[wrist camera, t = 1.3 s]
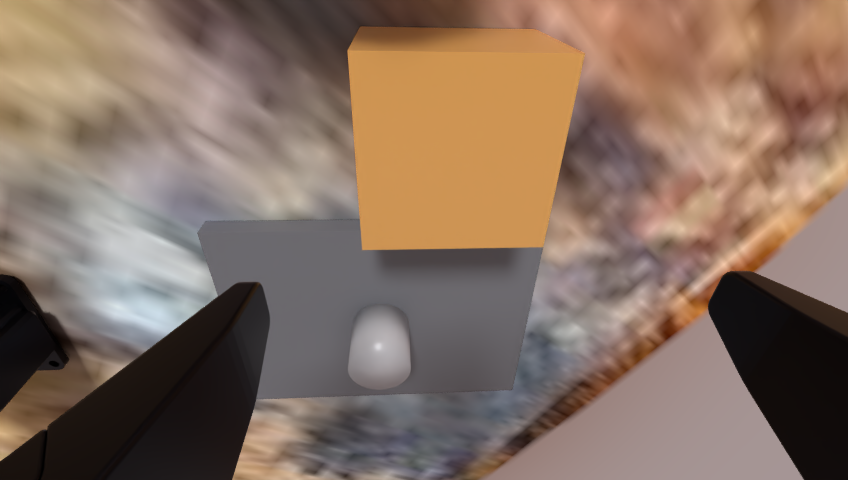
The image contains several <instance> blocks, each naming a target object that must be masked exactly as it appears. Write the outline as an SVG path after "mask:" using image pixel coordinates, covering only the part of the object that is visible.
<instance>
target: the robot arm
mask: <svg viewBox="0 0 848 480" xmlns="http://www.w3.org/2000/svg"><path fill="white" fill-rule="evenodd" d="M708 311H709V314H710V317H711V319H712V320H713V322H714V325H715V327H716V328H717V331H718V333H719V335H720V337H721V339H722V341H723V342H724V345H725V347H726V349H727V351H728V353H729V355H730V357H731V359H732V361H733V363H734V365H735V367H736V369H737V371H738V373H739V375H740V376H741V378H742V380H743V382H744V384H745V385H746V387H747V389H748V391H749V392H750V394H751V395H752V397H753V399H754V400H755V402H756V404H757V405H758V407H759V408H760V410H761V412H762V413H763V415H764V417H765V418H766V420H767V421H768V423H769V424H770V426H771V428H772V429H773V431H774V432H775V434H776V436H777V437H778V439H779V441H780V442H781V444H782V445H783V447H784V449H785V450H786V452H787V453H788V455H789V456H790V458H791V460H792V461H793V463H794V465H795V466H796V468H797V469H798V471H799V472H800V474H801V476H802V477H803V479H804V480H848V313H846V312H845V311H842V310H840V309H838V308H835V307H833V306H831V305H828V304H826V303H824V302H821V301H819V300H817V299H814V298H812V297H810V296H807V295H805V294H803V293H800V292H798V291H796V290H793V289H791V288H789V287H786V286H784V285H782V284H780V283H777V282H775V281H772V280H770V279H768V278H766V277H763V276H761V275H759V274H756V273H754V272H751V271H730V272H727V273H726V274H724V275H723V276H722V278H721V280H720V282H719V284H718V285H717V287H716V289H715V291H714V293H713V295H712V297H711V299H710V301H709V304H708ZM269 328H270V314H269V309H268V305H267V301H266V297H265V293H264V289H263V286H262V285H261V283H259V282H257V281H255V282H237V283H235V284H234V285H232V286H231V287H230V288H228V289H227V290H226V291H224V292H223V293H222V294H221V295H219V296H218V297H217V298H215V299H214V300H213V301H211V302H210V303H209V304H207V305H206V306H205V307H203V308H202V309H201V310H199V311H198V312H197V313H196V314H194V315H193V316H192V317H190V318H189V319H188V320H186V321H185V322H184V323H182V324H181V325H180V326H178V327H177V328H176V329H174V330H173V331H172V332H171V333H169V334H168V335H167V336H165V337H164V338H163V339H161V340H160V341H159V342H157V343H156V344H155V345H153V346H152V347H151V348H149V349H148V350H147V351H146V352H144V353H143V354H142V355H140V356H139V357H138V358H136V359H135V360H134V361H132V362H131V363H130V364H128V365H127V366H126V367H124V368H123V369H122V370H121V371H119V372H118V373H117V374H115V375H114V376H113V377H111V378H110V379H109V380H107V381H106V382H105V383H103V384H102V385H101V386H99V387H98V388H97V389H96V390H94V391H93V392H92V393H90V394H89V395H88V396H86V397H85V398H84V399H82V400H81V401H80V402H78V403H77V404H76V405H74V406H73V407H72V408H71V409H69V410H68V411H67V412H65V413H64V414H63V415H61V416H60V417H59V418H57V419H56V420H55V421H53V422H52V423H51V424H50V425H49V426H48V429H47V430H41V431H40V432H39V433H37V434H36V435H35V436H33V437H32V438H31V439H29V440H28V441H27V442H26V443H24V444H23V445H22V446H20V447H19V448H18V449H16V450H15V451H14V452H12V453H11V454H10V455H8V456H7V457H6V458H4V459H3V460H1V461H0V480H232V478H233V475H234V472H235V468H236V465H237V462H238V459H239V455H240V452H241V449H242V446H243V442H244V439H245V436H246V433H247V429H248V426H249V423H250V420H251V416H252V413H253V409H254V406H255V402H256V398H257V393H258V388H259V382H260V377H261V372H262V366H263V361H264V355H265V350H266V344H267V339H268V333H269ZM68 361H69V359H68V357H67V355H66V354H65V352H64V351H63V349H62V348H61V346H60V345H59V343H58V342H57V340H56V339H55V337H54V336H53V334H52V333H51V331H50V330H49V328H48V327H47V325H46V324H45V322H44V321H43V319H42V318H41V316H40V315H39V313H38V312H37V310H36V309H35V307H34V306H33V304H32V302H31V301H30V299H29V298H28V296H27V295H26V293H25V292H24V290H23V289H22V287H21V286H20V284H19V283H18V282H17V281H16V279H14V278H13V277H11V276H8V275H0V412H1V411H2V409H3V408H4V407H5V406H6V405H7V404H8V403H9V401H10V400H11V399H12V398H13V397H14V396H15V395H16V393H17V392H18V391H19V390H20V389H21V388H22V387H23V385H24V384H25V383H26V382H27V381H28V380H29V379H30V377H31V376H32V375H33V374H34V373H35V372H36V371H37V370H60V369H62V368H64V367H65V365H66V364H67V363H68Z"/></svg>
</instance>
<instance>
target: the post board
mask: <svg viewBox="0 0 848 480" xmlns="http://www.w3.org/2000/svg"><path fill="white" fill-rule="evenodd" d="M197 234H198V237H199V240H200V243H201V246H202V249H203V252H204V255H205V258H206V261H207V264H208V267H209V270H210V273H211V276H212V279H213V282H214V285H215V288H216V291H217V294H218V296H219V295H221V294H222V293H223V292H224V291H226V290H227V289H228V288H230V287H231V286H232V285H234V284H235V283H237V282H255V281H257V282H259V283H261V285H262V286H263V289H264V293H265V297H266V301H267V305H268V309H269V314H270V328H269V333H268V339H267V344H266V350H265V355H264V361H263V366H262V372H261V377H260V382H259V388H258V393H257V398H256V399H279V398H306V397H334V396H361V395H389V394H416V393H443V392H471V391H498V390H512V388H513V384H514V379H515V375H516V370H517V365H518V361H519V356H520V351H521V347H522V342H523V338H524V333H525V328H526V324H527V319H528V314H529V310H530V305H531V301H532V296H533V291H534V287H535V282H536V277H537V273H538V268H539V264H540V259H541V254H542V250H543V247H525V248H462V249H399V250H362V241H361V228H360V220H277V221H205V223H204V224H203V226H202V227H201V228H200V230H199V231H198V233H197Z"/></svg>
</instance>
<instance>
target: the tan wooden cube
mask: <svg viewBox="0 0 848 480" xmlns="http://www.w3.org/2000/svg"><path fill="white" fill-rule="evenodd" d="M347 51H348V65H349V78H350V92H351V105H352V119H353V133H354V146H355V160H356V173H357V187H358V200H359V214H360V228H361V241H362V250H399V249H462V248H525V247H543V245H544V240H545V236H546V231H547V227H548V222H549V217H550V213H551V208H552V203H553V199H554V194H555V190H556V185H557V180H558V176H559V171H560V166H561V162H562V157H563V153H564V148H565V143H566V139H567V134H568V129H569V125H570V120H571V115H572V111H573V106H574V102H575V97H576V92H577V88H578V83H579V78H580V74H581V69H582V65H583V60H584V55H585V53H583V52H581V51H579V50H577V49H575V48H573V47H571V46H569V45H567V44H565V43H562V42H560V41H558V40H556V39H554V38H552V37H550V36H548V35H546V34H544V33H542V32H540V31H538V30H536V29H491V28H428V27H365V26H360V28H359V29H358V31H357V33H356V35H355V37H354V39H353V41H352V43H351V45H350V47H349V49H348V50H347Z"/></svg>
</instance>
